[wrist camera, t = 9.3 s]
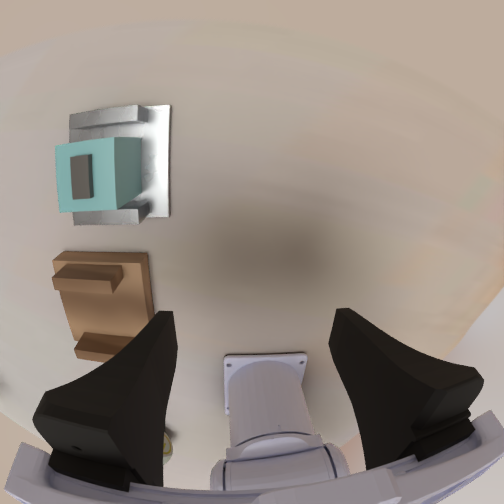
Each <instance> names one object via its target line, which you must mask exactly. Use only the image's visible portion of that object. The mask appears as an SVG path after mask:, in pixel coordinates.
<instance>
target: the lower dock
mask: <svg viewBox="0 0 504 504" xmlns="http://www.w3.org/2000/svg"><path fill="white" fill-rule="evenodd" d="M170 124H171V105H159V106H145V107H142V106H140V105H130V106H121V107H113V108H106V109H99V110H93V111H87V112H81V113H76V114H71V115H70V120H69V129H70V134H69V143H74V142H80V141H87V140H94V139H102V138H110V137H140V138H141V188H142V193H141V194H140V195H138V196H137V197H135V198H134V199H132V200H131V201H129V202H128V203H126V204H125V205H123V206H122V207H120V208H119V209H117V210H98V211H78V212H73V220H74V225H122V224H140V223H141V222H142V221H143V220H144V219H145V218H146V217H169V216H170Z"/></svg>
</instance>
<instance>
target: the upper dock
mask: <svg viewBox="0 0 504 504" xmlns="http://www.w3.org/2000/svg"><path fill="white" fill-rule="evenodd" d="M52 262H53V266H54V271H55V275H54V276H53V277H52V281H53V285H54V289H55V290H59V291H60V295H61V299H62V303H63V306H64V309H65V313H66V316H67V319H68V323H69V326H70V329H71V332H72V335H73V338H74V340H75V341H79V342H78V343H77V345H76V347H75V348H74V351H75V354H76V356H77V358H79V359H85V360H91V361H97V362H104V363H105V362H107V361H108V360H109V359H111V358H112V357H113V356H115V355H116V354H117V353H118V352H120V351H121V350H122V349H123V348H124V347H125V346H126V345H127V344H128V343H129V342H130V341H131V340H132V339H133V338H134V337H135V336H136V335H137V334H138V333H139V332H140V331H141V330H142V329H143V328H144V327H145V326H146V325H147V324H148V322H149V321H150V320H151V319H152V318H153V317H154V316H155V315H154V308H153V300H152V293H151V285H150V276H149V267H148V256H147V253H125V252H69V251H63V252H62V253H61V254H60V255H58V256H57V257H56V258H55V259H54V260H52Z"/></svg>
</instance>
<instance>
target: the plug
mask: <svg viewBox="0 0 504 504" xmlns="http://www.w3.org/2000/svg"><path fill="white" fill-rule="evenodd" d="M55 159H56V179H57V192H58V202H59V211H60V213H61V212H78V211H98V210H117V209H119V208H120V207H122V206H123V205H125V204H126V203H128V202H129V201H131V200H132V199H134V198H135V197H137V196H138V195H140V194H141V193H142V188H141V138H140V137H110V138H102V139H94V140H87V141H80V142H74V143H68V144H62V145H57V146H55Z"/></svg>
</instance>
